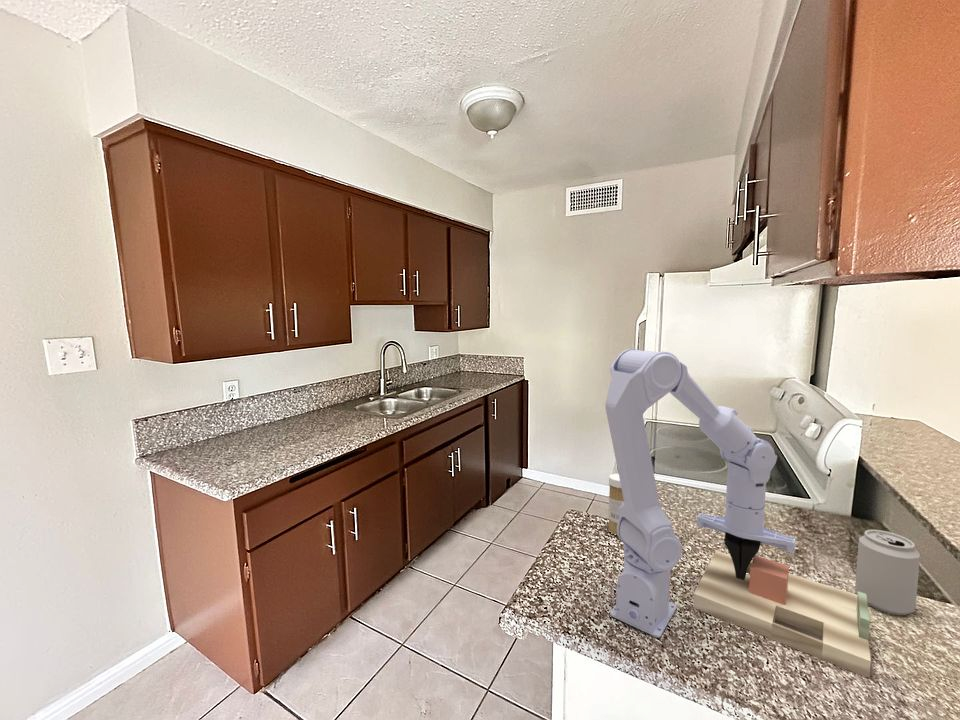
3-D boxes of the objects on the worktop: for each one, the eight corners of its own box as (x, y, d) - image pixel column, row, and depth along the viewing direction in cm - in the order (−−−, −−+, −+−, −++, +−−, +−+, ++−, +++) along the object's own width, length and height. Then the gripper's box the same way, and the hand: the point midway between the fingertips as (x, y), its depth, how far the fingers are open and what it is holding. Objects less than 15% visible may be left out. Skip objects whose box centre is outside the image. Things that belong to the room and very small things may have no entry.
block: (785, 605, 67) (786, 579, 67) (748, 592, 70) (750, 567, 70) (787, 590, 71) (789, 565, 71) (753, 579, 74) (754, 555, 74)
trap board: (869, 678, 56) (872, 640, 56) (692, 607, 70) (694, 576, 70) (861, 610, 70) (864, 579, 69) (715, 562, 84) (716, 536, 84)
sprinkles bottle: (632, 534, 96) (634, 477, 94) (619, 539, 93) (621, 481, 92) (615, 526, 99) (617, 471, 98) (603, 531, 97) (604, 475, 96)
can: (901, 623, 67) (907, 552, 66) (845, 596, 74) (850, 531, 73) (923, 611, 70) (930, 543, 69) (868, 585, 77) (873, 523, 76)
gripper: (798, 506, 71) (793, 582, 72) (704, 485, 80) (701, 552, 81) (795, 521, 65) (790, 602, 66) (695, 497, 75) (692, 568, 76)
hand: (740, 576), depth 73 cm, fingers closed
